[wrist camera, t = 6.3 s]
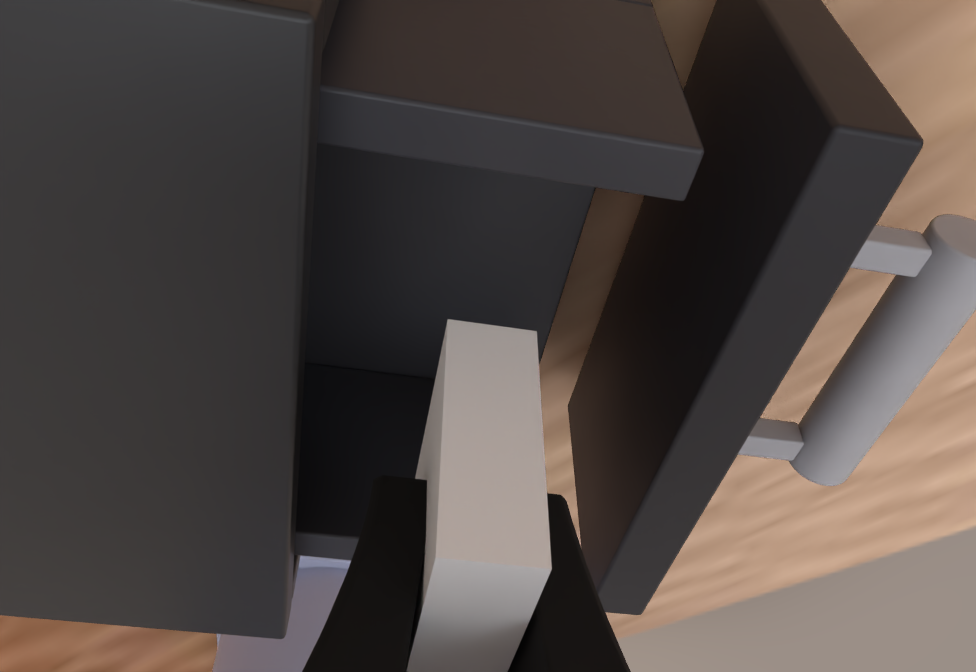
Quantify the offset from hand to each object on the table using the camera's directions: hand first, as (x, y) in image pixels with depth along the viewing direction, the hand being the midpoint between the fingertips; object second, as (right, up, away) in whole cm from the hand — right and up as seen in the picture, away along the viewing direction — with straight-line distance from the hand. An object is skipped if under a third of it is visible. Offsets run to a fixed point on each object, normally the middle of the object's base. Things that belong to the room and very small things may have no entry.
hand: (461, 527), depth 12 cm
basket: (0, +6, +6) cm, 8 cm away
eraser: (0, +1, +1) cm, 2 cm away
